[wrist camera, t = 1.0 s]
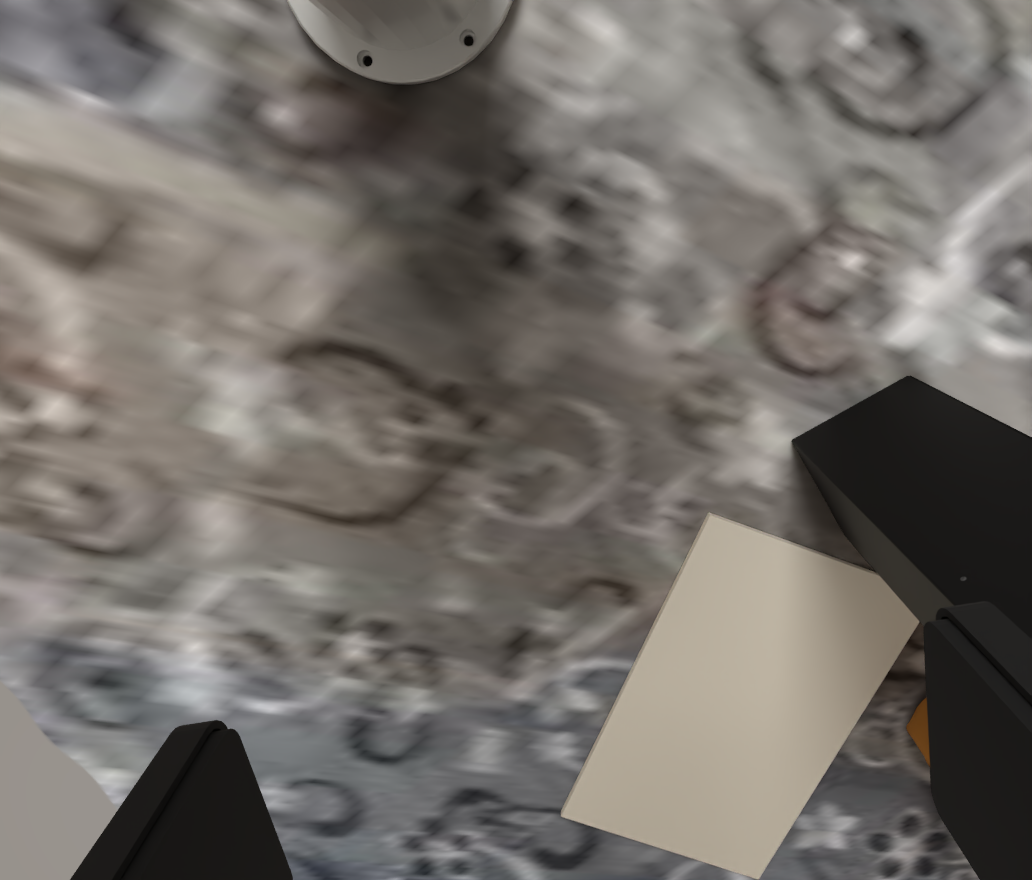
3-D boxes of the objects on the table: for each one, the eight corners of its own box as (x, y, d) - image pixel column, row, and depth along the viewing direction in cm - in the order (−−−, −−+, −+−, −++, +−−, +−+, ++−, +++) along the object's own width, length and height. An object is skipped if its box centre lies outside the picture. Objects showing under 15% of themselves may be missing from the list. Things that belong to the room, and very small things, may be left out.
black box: (960, 476, 47) (1496, 846, 21) (843, 537, 49) (1203, 953, 22) (908, 372, 45) (1425, 633, 19) (788, 439, 47) (1110, 767, 20)
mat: (708, 512, 49) (710, 515, 48) (931, 592, 50) (935, 596, 49) (560, 811, 57) (561, 816, 56) (756, 873, 58) (758, 879, 57)
